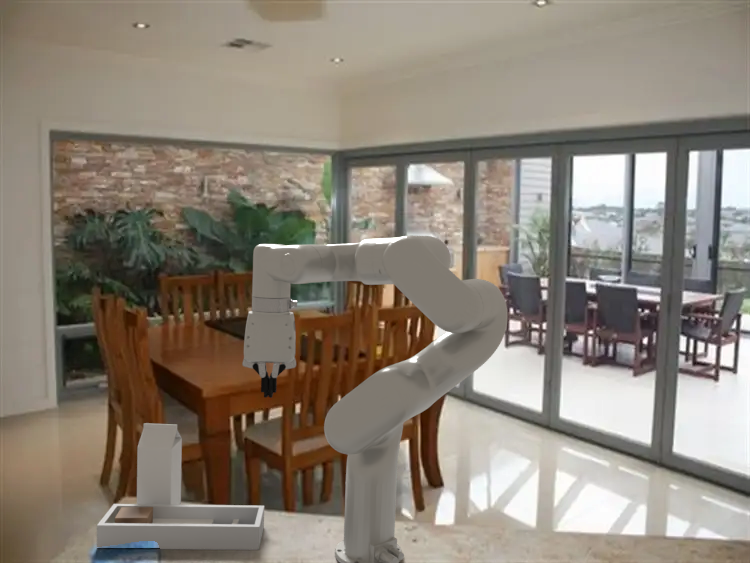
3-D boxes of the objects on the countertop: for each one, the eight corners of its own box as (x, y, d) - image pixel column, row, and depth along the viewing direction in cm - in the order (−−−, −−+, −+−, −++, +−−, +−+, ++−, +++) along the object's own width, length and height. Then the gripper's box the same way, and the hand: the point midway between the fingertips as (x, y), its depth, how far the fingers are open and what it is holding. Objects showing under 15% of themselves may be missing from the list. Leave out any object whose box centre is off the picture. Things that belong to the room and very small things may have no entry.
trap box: (263, 526, 140) (264, 505, 140) (258, 549, 130) (259, 526, 130) (113, 525, 138) (113, 503, 138) (96, 548, 128) (96, 525, 128)
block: (152, 521, 136) (152, 507, 136) (147, 533, 131) (147, 517, 131) (121, 522, 135) (121, 507, 135) (114, 533, 130) (114, 518, 130)
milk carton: (170, 519, 142) (171, 429, 140) (136, 518, 142) (137, 428, 141) (180, 506, 149) (182, 420, 148) (148, 504, 149) (149, 418, 148)
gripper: (309, 304, 142) (306, 392, 143) (235, 302, 141) (233, 390, 142) (307, 309, 134) (305, 401, 135) (230, 306, 133) (228, 399, 134)
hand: (268, 395), depth 139 cm, fingers closed
